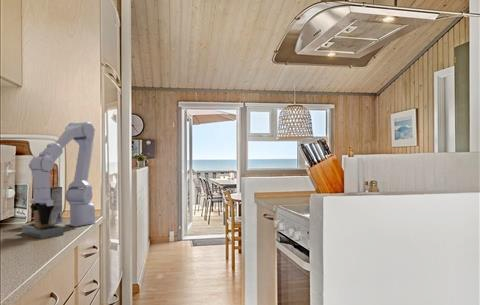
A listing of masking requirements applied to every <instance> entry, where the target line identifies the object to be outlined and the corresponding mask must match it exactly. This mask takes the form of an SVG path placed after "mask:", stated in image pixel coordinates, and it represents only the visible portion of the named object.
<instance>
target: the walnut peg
mask: <svg viewBox="0 0 480 305" xmlns="http://www.w3.org/2000/svg"><path fill="white" fill-rule="evenodd" d="M33 217H34V218H33V219H34V220H33V221H34V223H33V224H34V227H37V228H41V227H47V226H48V224H44V225H42V224H41V220H40V214H39V211H38V210H34V212H33Z"/></svg>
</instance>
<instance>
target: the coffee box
mask: <svg viewBox="0 0 480 305" xmlns="http://www.w3.org/2000/svg"><path fill="white" fill-rule="evenodd" d="M50 199H51V200H53V205H54V208H53V210H52V212H51V214H50V218H49V222H48V223H49V224H53V225H57V224H61V222H62V223H63V187H62V186H51V185H50Z"/></svg>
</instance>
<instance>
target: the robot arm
mask: <svg viewBox="0 0 480 305" xmlns="http://www.w3.org/2000/svg"><path fill="white" fill-rule="evenodd" d="M95 131H96V130H95V127H94V126H93V124H92V123H91V122H90V121H85V122H84V121H83V122H70V123H68V124H67V125H66V126H65V128H64V132H62V134H60V136H59V138H58V139H57V140H56V141H55V142H51V143H48V144H47V145H46V147H45V148H44V150H42V151H41V152H40V153H39V154H38V156H34V157H33V158H31V160H30V161H29V164H28V167H29V170H30V171H31V175H32V189H33V190H32V191H33V192H32V193H33V198H31V199H30V200H29V203H31V204H33V205H30V209H31V210H32V212H33V213H34V210H38V211H39V214H40V220H41V224H42V225H44V224H48V222H49V218H50V214H51V212H52V210H53V208H54V205H53V200H51V199H50V186H51V171H52V170H53V169H54V166H55V163H56V161H57V159H58V158H59V157H60V156H61V155H62V154H63V151H64V150H63V149H64V148H65V147H66V146H67V145H68V144H69V143H70V142H71V141H72V140H73V141H74V142H75V143H77V145H79V148H78V151H77V159H76V164H75V165H76V166H75V170H74V171H75V172H74V178H73V181H71V182H70V183H69V185H68V187H67V190H66V192H65V195H64V196H65V200H66V202H68V205H69V220H70V222H68V223H67V222H66V226H70V227H71V226H72V227H80V226H86V225H88V226H89V225H93V224H97V222H96V219H95V218H96V209H95V208H96V207H95V205H94V204H93V202H91V201H92V199H93V186H92V185H91V184H90V183H89V182H88V181H89V173H90V168H91V161H92V155H93V146H94V137H95Z"/></svg>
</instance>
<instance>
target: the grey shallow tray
mask: <svg viewBox="0 0 480 305" xmlns="http://www.w3.org/2000/svg"><path fill="white" fill-rule="evenodd" d="M64 230H65V229H64V226H62V225H57V224H49V223H48V226H47V227H41V228H37V227H34V223H29V224H22V225H21V233H22V234H23V235H27V236H30V237H34V238H36V239H40V240H42V239H48V238H55V237H58V236H59V237H60V236H64Z"/></svg>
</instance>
